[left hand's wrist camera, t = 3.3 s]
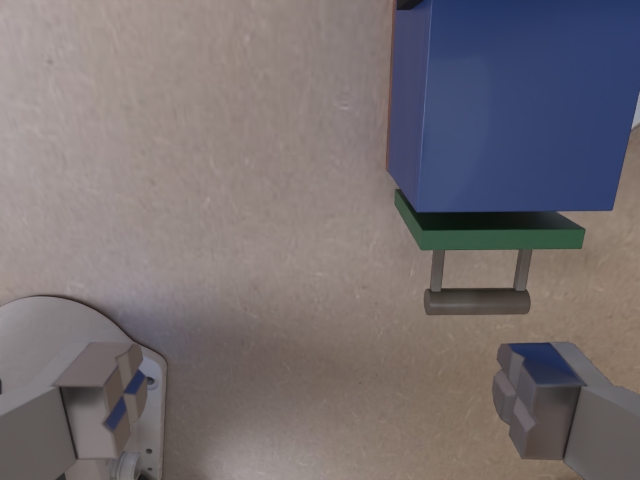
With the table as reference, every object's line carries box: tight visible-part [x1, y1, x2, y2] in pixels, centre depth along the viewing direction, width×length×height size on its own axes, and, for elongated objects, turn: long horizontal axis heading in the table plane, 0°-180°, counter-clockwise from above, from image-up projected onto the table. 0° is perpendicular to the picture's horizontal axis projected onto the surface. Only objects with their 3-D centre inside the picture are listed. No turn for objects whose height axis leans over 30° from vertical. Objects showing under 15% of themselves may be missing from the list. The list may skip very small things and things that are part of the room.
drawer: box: [395, 189, 585, 315], centre depth 28 cm, size 20×9×9 cm, turn 0°
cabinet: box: [386, 0, 640, 212], centre depth 26 cm, size 16×10×11 cm, turn 0°
